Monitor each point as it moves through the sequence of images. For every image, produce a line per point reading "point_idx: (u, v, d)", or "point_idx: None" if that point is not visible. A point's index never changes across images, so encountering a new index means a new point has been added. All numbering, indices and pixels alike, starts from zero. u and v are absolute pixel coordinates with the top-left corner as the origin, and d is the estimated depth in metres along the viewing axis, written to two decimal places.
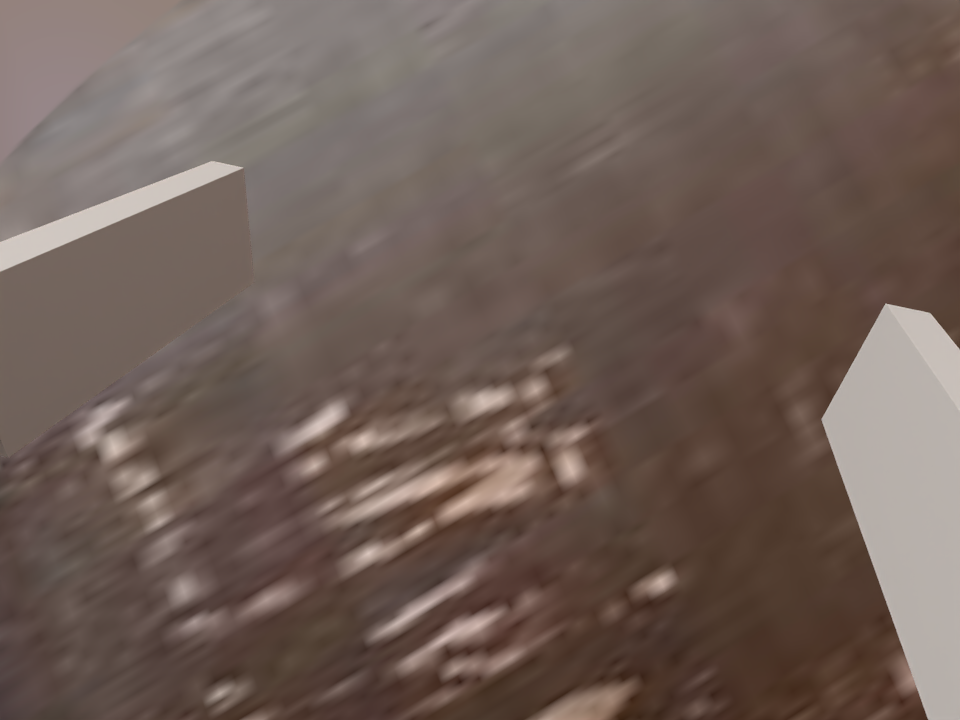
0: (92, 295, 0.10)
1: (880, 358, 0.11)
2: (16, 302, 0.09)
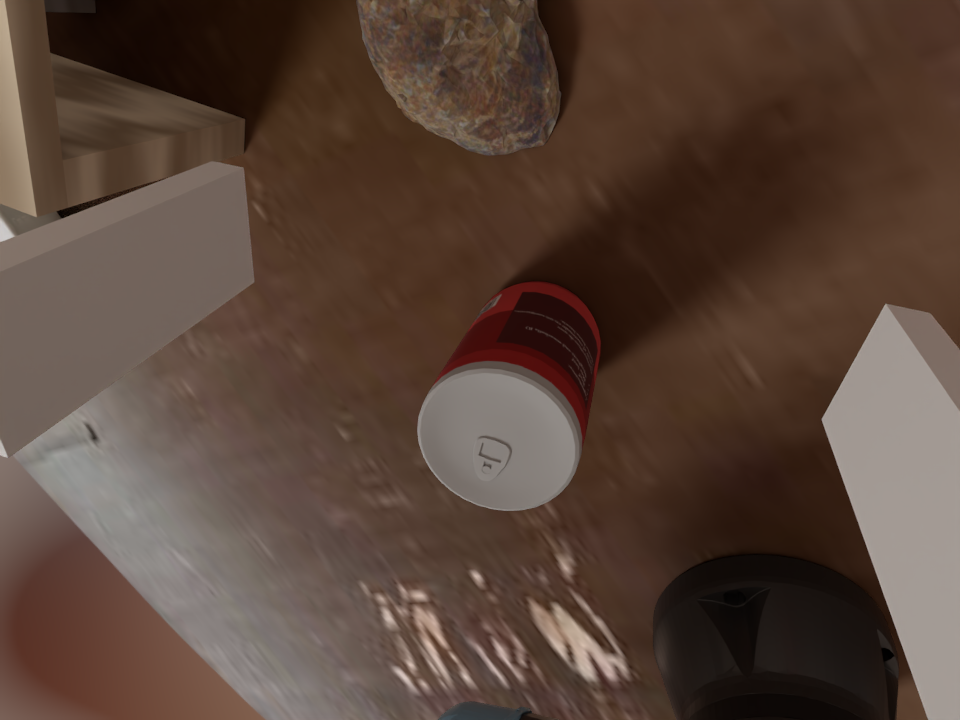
0: (92, 295, 0.10)
1: (880, 358, 0.11)
2: (16, 302, 0.09)
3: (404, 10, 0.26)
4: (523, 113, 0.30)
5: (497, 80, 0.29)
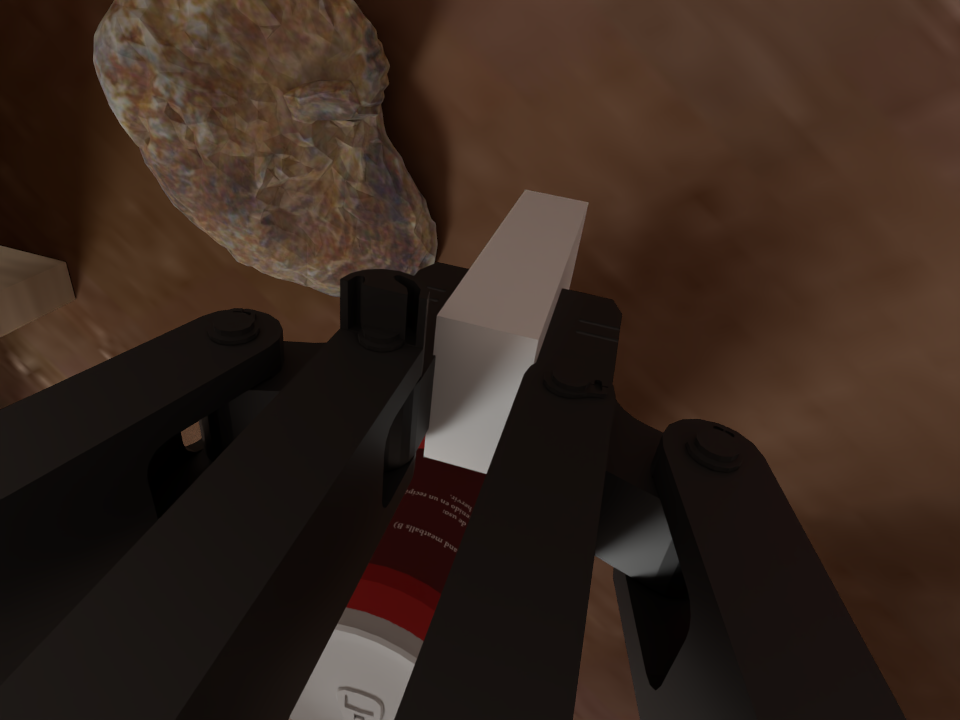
0: None
1: None
2: None
3: (195, 152, 0.19)
4: (388, 253, 0.22)
5: (345, 218, 0.22)
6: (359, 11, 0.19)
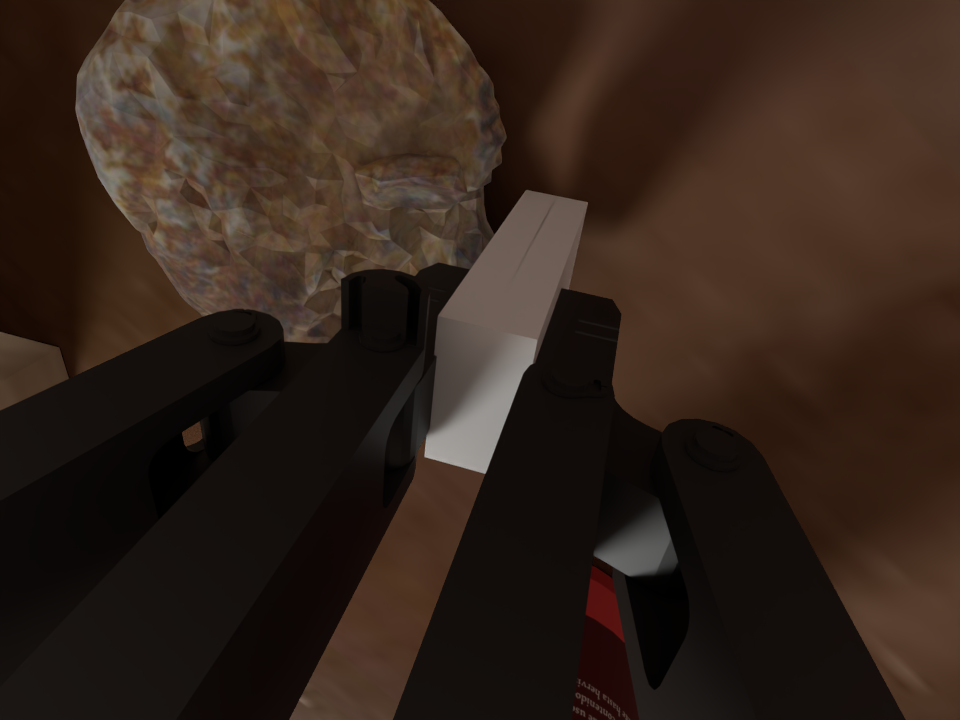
0: None
1: None
2: None
3: (222, 244, 0.14)
4: None
5: None
6: (472, 56, 0.13)
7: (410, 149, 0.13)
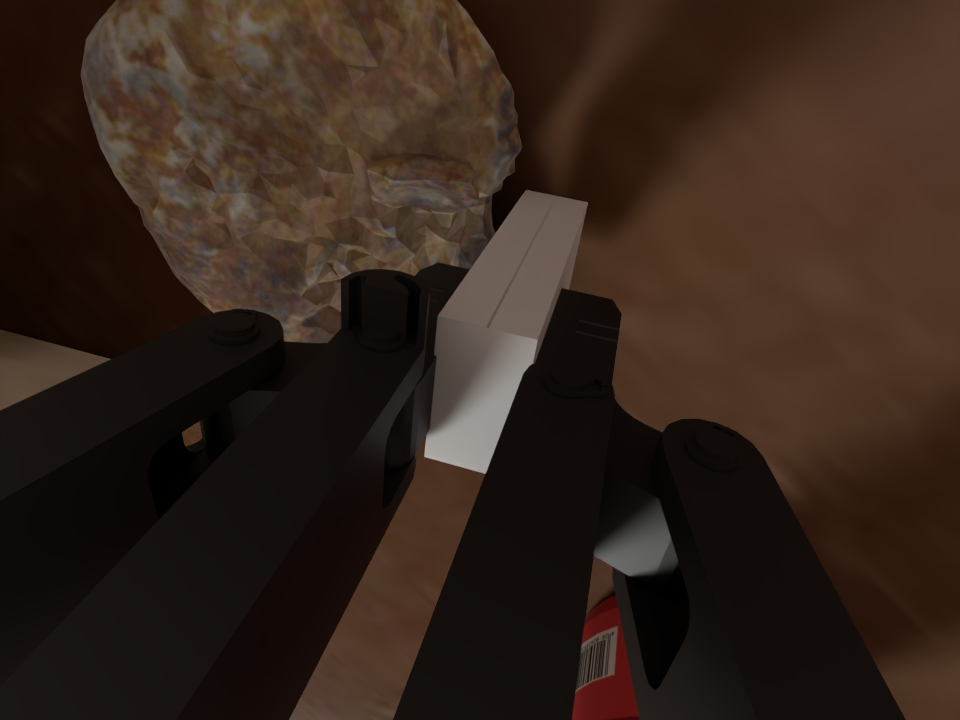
0: None
1: None
2: None
3: (223, 226, 0.13)
4: None
5: None
6: (496, 63, 0.13)
7: (424, 149, 0.13)
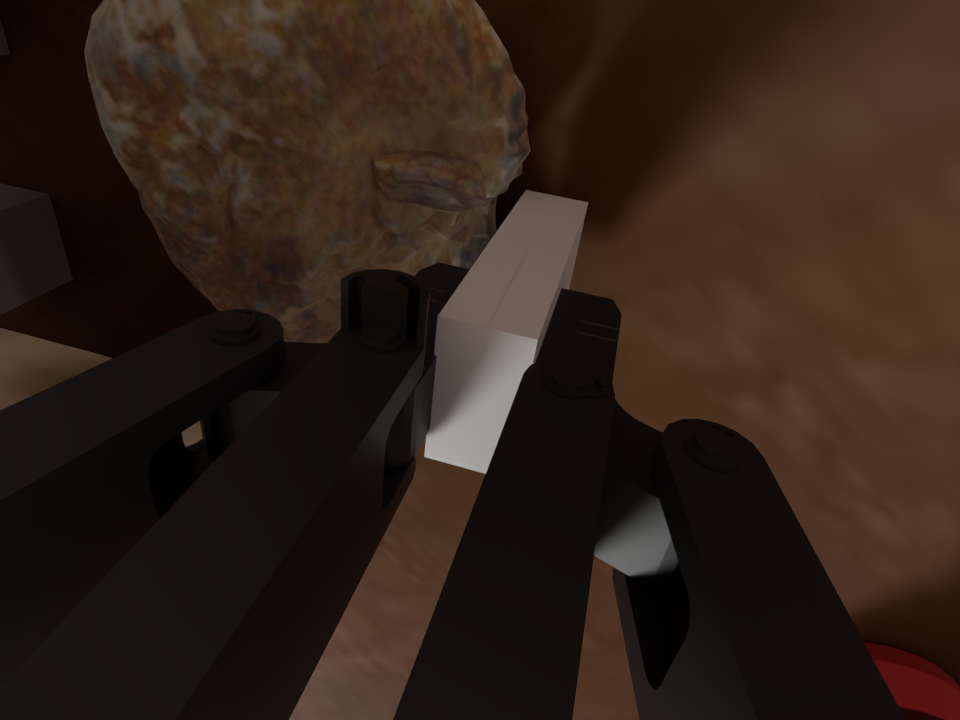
0: None
1: None
2: None
3: (224, 214, 0.13)
4: None
5: None
6: (509, 64, 0.12)
7: (432, 147, 0.13)
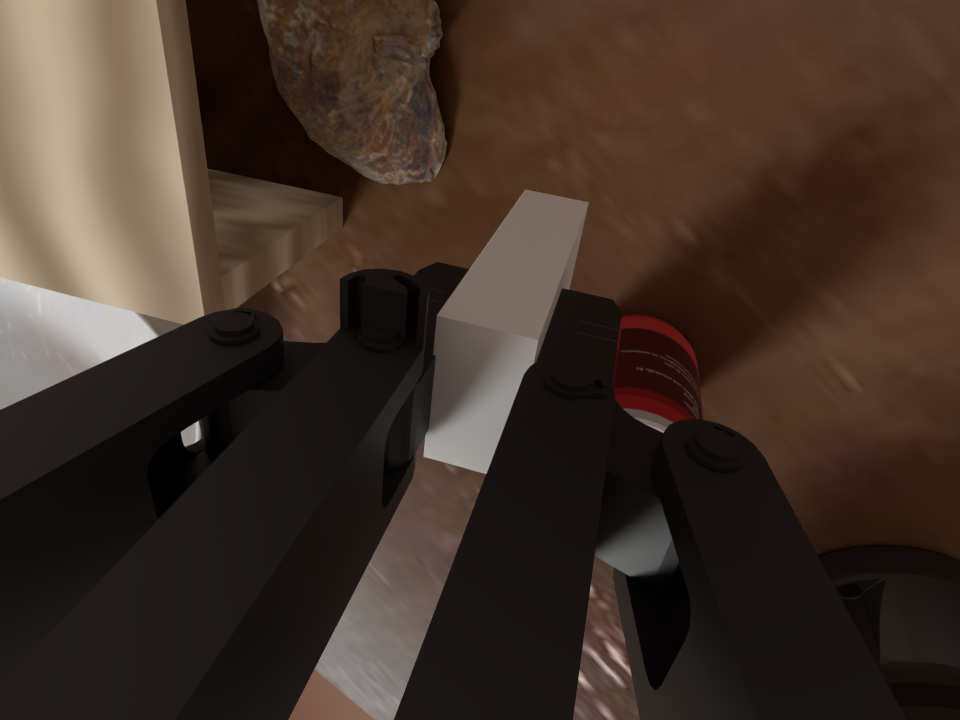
0: None
1: None
2: None
3: (307, 59, 0.30)
4: (412, 155, 0.34)
5: (390, 125, 0.33)
6: None
7: (399, 33, 0.30)
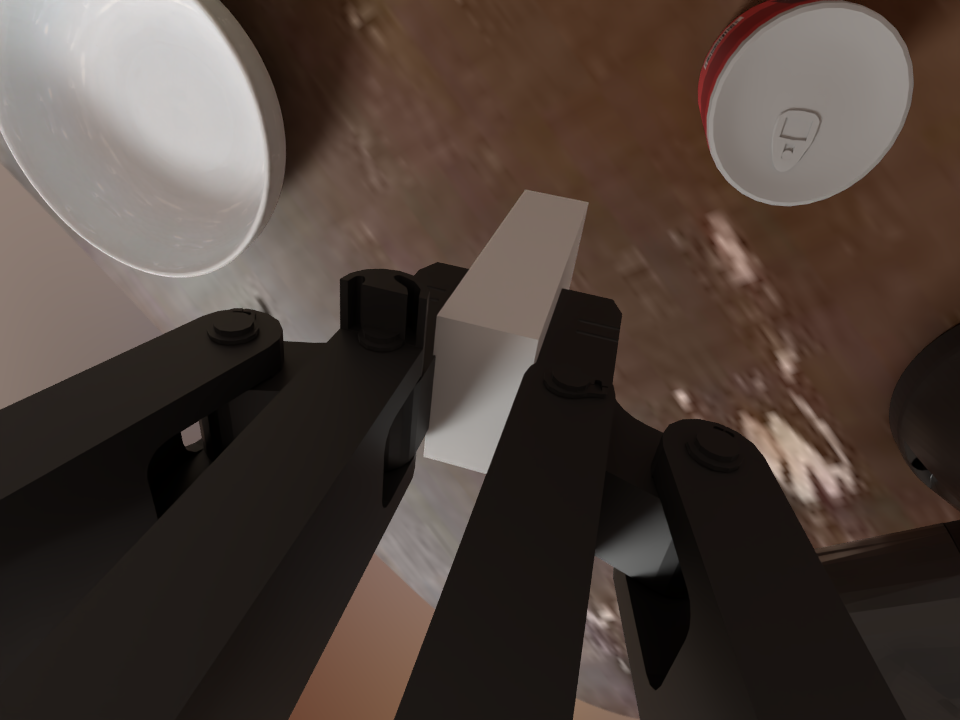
0: None
1: None
2: None
3: None
4: None
5: None
6: None
7: None
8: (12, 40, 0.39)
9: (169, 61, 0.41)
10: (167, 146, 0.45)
